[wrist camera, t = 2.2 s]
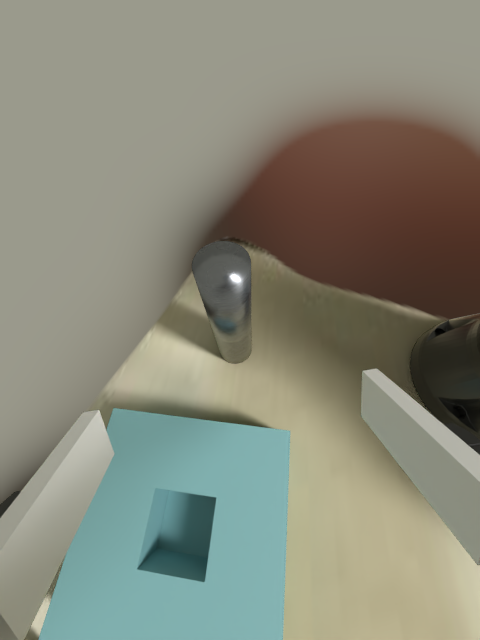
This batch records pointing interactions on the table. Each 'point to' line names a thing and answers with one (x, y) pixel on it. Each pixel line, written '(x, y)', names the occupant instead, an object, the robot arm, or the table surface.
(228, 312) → the pin
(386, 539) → the table surface
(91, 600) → the socket block
